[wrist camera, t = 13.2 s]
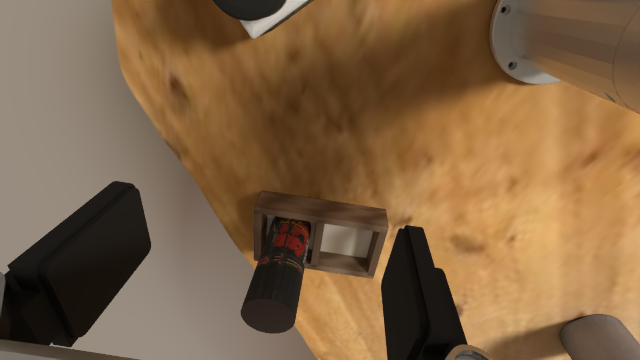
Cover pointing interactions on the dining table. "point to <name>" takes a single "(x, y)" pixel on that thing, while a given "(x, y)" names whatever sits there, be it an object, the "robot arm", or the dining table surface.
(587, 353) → the pillar candle
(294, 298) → the deodorant
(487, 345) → the dining table surface
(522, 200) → the dining table surface
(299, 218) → the divided compartment tray
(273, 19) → the medicine bottle
